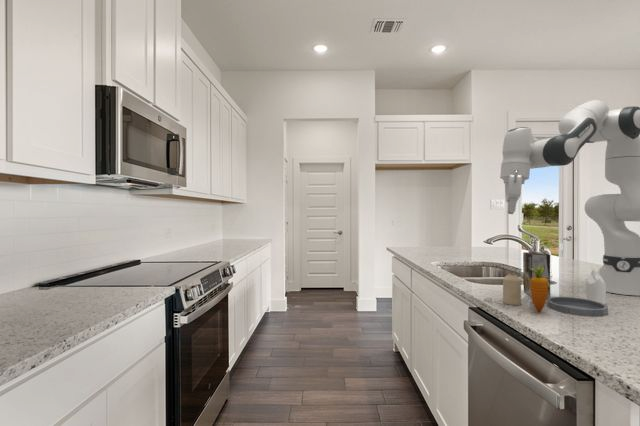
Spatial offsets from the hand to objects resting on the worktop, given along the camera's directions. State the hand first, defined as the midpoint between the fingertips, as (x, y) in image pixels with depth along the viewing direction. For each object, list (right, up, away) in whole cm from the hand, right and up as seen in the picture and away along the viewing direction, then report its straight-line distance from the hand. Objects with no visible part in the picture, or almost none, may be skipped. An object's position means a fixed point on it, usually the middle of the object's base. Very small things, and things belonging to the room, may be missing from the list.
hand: (511, 213), depth 119 cm
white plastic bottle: (+31, -32, +2) cm, 45 cm away
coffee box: (+17, -32, +14) cm, 39 cm away
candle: (+1, -32, +2) cm, 32 cm away
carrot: (+4, -32, -9) cm, 34 cm away
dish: (+18, -32, -6) cm, 37 cm away
